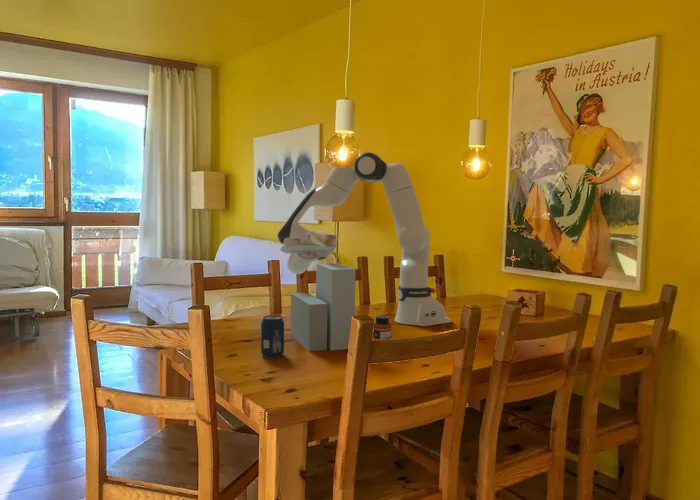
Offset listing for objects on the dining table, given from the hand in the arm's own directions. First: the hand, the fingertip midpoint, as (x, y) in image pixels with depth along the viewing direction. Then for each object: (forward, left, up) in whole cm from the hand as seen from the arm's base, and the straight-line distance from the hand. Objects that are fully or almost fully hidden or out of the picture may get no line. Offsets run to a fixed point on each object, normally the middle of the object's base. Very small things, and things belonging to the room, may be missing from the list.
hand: (315, 235), depth 203 cm
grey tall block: (0, +22, -35) cm, 41 cm away
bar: (0, +7, -2) cm, 7 cm away
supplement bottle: (-11, +36, -35) cm, 51 cm away
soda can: (+23, +30, -35) cm, 51 cm away
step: (+8, +18, -35) cm, 40 cm away
